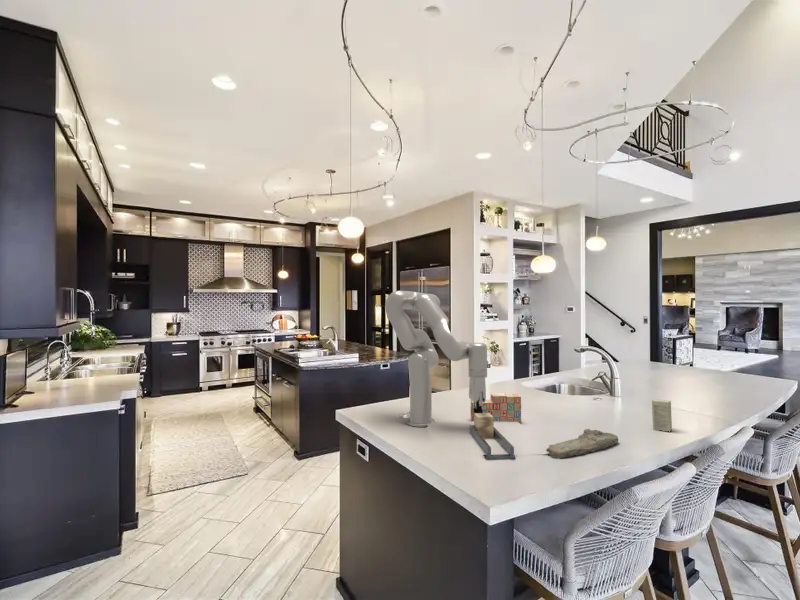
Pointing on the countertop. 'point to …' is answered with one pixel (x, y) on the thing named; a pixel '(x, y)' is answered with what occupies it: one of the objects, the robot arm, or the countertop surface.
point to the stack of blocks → (502, 407)
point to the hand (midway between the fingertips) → (478, 417)
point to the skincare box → (661, 415)
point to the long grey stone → (582, 444)
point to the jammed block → (484, 424)
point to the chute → (487, 448)
